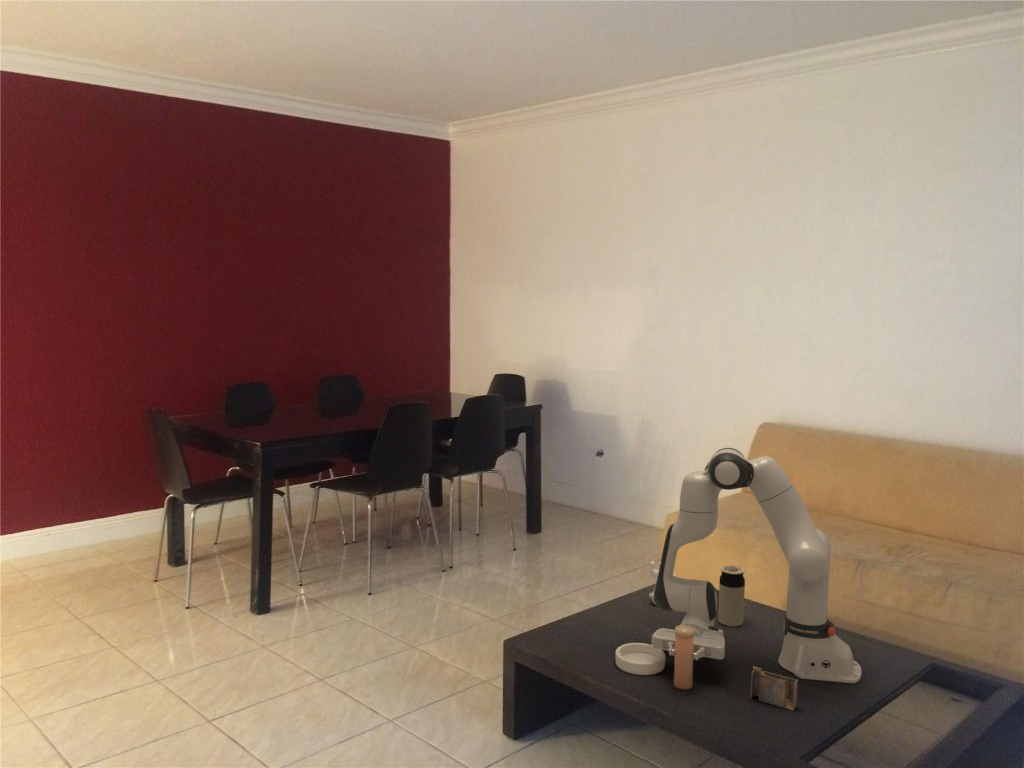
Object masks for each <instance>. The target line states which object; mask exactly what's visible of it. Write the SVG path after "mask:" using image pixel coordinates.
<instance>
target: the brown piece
mask: <svg viewBox="0 0 1024 768" xmlns="http://www.w3.org/2000/svg"><path fill="white" fill-rule="evenodd" d="M752 669H753V670H751V678H750V680H751V681H750V699H752V698H753V697H754V696H756V697H758V701H759V702H763V703H767V704H770V705H774V706H777V707H780V708H784V709H788V710H791V711H795V709H796V707H797V703H798V701H797V700H798V684H799V683H798V682H799V680H798V679H796V678H792V677H789V676H784V675H781V674H777V673H773V672H769V671H766V670H765V671H764V670H762V667H758V666H752Z"/></svg>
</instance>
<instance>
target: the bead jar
mask: <svg viewBox="0 0 1024 768" xmlns="http://www.w3.org/2000/svg"><path fill="white" fill-rule="evenodd" d="M674 630H675V656H674V663H673V664H674V666H673V686H674V687H675V688H677V689H678V690H684V691H685V690H690V689H692V687H693V679H694V678H693V674H694V672H693V671H694V659H692V657H693V649H694V628H693V627H691V626H688V625H680V624H679V625H676V626H675V627H674Z"/></svg>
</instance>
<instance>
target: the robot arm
mask: <svg viewBox="0 0 1024 768" xmlns="http://www.w3.org/2000/svg"><path fill="white" fill-rule="evenodd" d="M742 488H748V489H750V491H751V492H752V495H754V497H755V499H756V501H757V503H758V505H759V506H760V508H761V510H762V511H763V514H764V515H765V517H766V519H767V520H768V522H769V524H770V526H771V528H772V531H773V533H774V535H775V537H776V540H777V542H778V545H779V547H780V549H781V552H782V553H783V555H784V557H785V559H786V561H787V563H788V568H789V569H788V577H787V579H788V580H787V589H786V591H787V593H786V595H787V596H786V611H785V612H786V613H785V615H784V618H783V635H784V636H783V643H782V647H781V651H780V654H779V657H778V659H777V660H778V661H777V662H778V664H779V665H780V666H781V667H782V668H783V669H785V670H787V671H788V672H791V673H792V674H794V675H795V676H796V677H797V678H799V679H802V680H803V679H804V680H814V681H823V682H825V681H826V682H835V683H836V682H837V683H846V684H856V683H858V682H859V681H860V680H861V678H862V668H861V665H860V664H859V663H858V662H857V661H856V660H854V655H853V652H852V650H851V647H850V646H849V644H848V643H846V642H844V641H843V639H841V638H840V637H839V636H838V635H836V628H835V624H834V621H833V620H831V621H830V620H829V619H828V606H829V605H828V604H829V603H828V600H829V587H830V585H829V584H830V583H829V582H830V569H831V568H830V567H831V566H830V565H831V564H830V563H831V550H832V549H831V548H832V547H831V542H830V539H829V537H827V535H826V534H825V533H824V532H823V530H821V529H819V528H817V527H815V525H814V523H813V520H812V518H811V516H810V513H809V510H808V509H807V507H806V505H805V503H804V501H803V500H802V498H801V496H800V495H799V492H798V491H797V489H796V487H795V486H794V484H793V482H792V480H791V479H790V477H789V476H788V474H787V473H786V471H785V470H784V468H782V466H781V465H780V464H779V462H778V461H777V460H776V459H775V458H774V457H771V456H768V455H767V456H766V455H765V456H759V457H756V458H754V459H748V458H745V456H744V455H743V453H741V451H739V450H738V449H737V448H736V449H735V448H732V447H723V448H721V449H719V450H717V451H716V452H715V453H714V454H713V455H711V458H710V459H709V461H708V462H707V464H706V466H705V467H704V470H702V471H698V470H697V471H692V472H690V473H687V474H686V475H685V476H684V478H683V479H682V484H681V489H680V496H679V513H678V517H677V519H676V521H675V522H673V523H672V524H670V525H669V526H668V527H669V528H668V529H667V532H666V534H665V538H664V544H663V548H662V553H661V558H660V561H661V563H660V567H659V568H658V570H659V574H658V578H656V582H655V585H654V589H653V591H654V602H655V603H656V604H657V605H656V606H657V607H658V608H659V609H660V610H662V611H663V612H682V613H686V614H685V616H684V617H683V619H682V621H681V623H680V624H679V625H688V626H691V627H693V628H694V649H693V657H692V659H693V661H698V660H699V659H702V658H709V659H715V660H723V659H725V654H726V653H725V651H726V650H725V649H726V639H725V637H724V629H722V628H718V627H715V626H714V625H715V618H716V617H717V616H718V615H717V614H718V610H719V591H717V589H716V587H715V586H714V585H713V584H714V583H712V582H711V581H709V580H702V579H693V578H692V579H691V578H682V577H681V578H680V577H677V576H676V577H677V578H676V577H674V575H673V573H674V572H675V570H674V569H675V565H676V559H677V555H678V552H679V551H678V550H680V548H681V547H683V546H686V545H687V544H691V543H692V544H693V543H695V542H698V541H701V540H704V539H706V538H707V537H709V536H710V535H712V534H713V533H714V531H715V530H716V528H717V525H718V515H719V513H718V511H719V506H718V505H719V495H720V493H721V491H722V490H726V491H728V490H729V491H731V490H732V491H733V490H736V489H742ZM651 645H652V647H653V648H656V649H661V650H662V651H668V655H669V656H671V657H672V656H673V657H675V629H672V628H667V627H666V628H665V627H662V628H658V629H657V630H655V631H654V633H653V634H652V635H651Z"/></svg>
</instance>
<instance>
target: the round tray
mask: <svg viewBox="0 0 1024 768" xmlns="http://www.w3.org/2000/svg"><path fill="white" fill-rule="evenodd" d="M664 651H665V650H662V649H656V648H653V647H652V644H649V643H643V642H630V643H629V642H628V643H625V644H621V646H618V647H617V648H616V650H615V665H616V667H617V668H619V669H620V670H621V671H623V672H626V673H628V674H630V675H631V674H632V675H637V676H652V675H655V674H658V673H661V672H662V671H663V670H665V667H666V666H665V665H666V654H665V652H664Z"/></svg>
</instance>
